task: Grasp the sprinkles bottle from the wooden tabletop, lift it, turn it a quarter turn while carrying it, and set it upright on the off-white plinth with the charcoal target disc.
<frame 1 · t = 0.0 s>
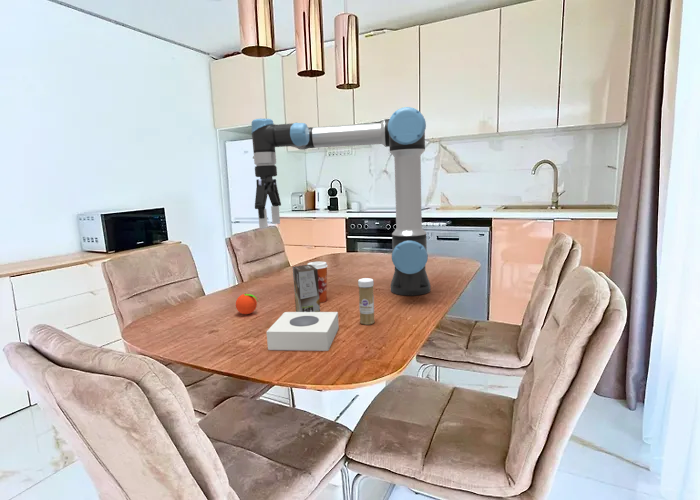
hand: (270, 225, 146), 28 cm above the table, fingers open, 13 cm apart
coffee box: (307, 316, 132), on the table
sprinkles bottle: (367, 323, 123), on the table
clementine: (248, 314, 137), on the table
plinth: (305, 338, 113), on the table
paper cup: (319, 301, 149), on the table
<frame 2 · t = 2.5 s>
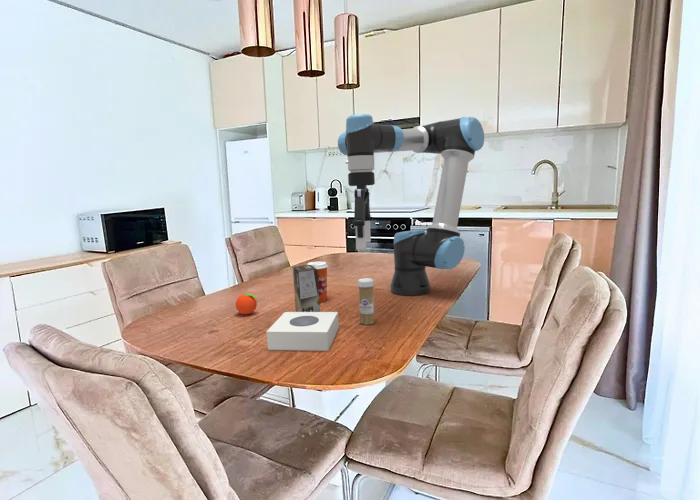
hand: (363, 245, 119), 24 cm above the table, fingers open, 13 cm apart
nothing on the table moved.
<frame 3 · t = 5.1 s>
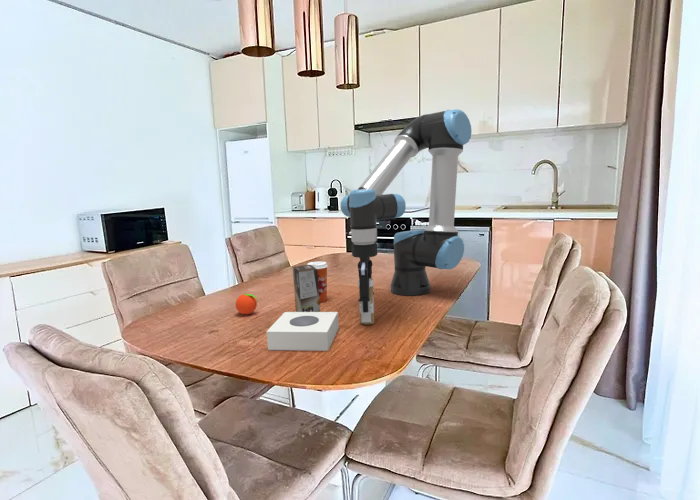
hand: (367, 318, 123), 1 cm above the table, fingers closed on sprinkles bottle, 4 cm apart
sprinkles bottle: (367, 323, 123), on the table, touching gripper
everything else where it was.
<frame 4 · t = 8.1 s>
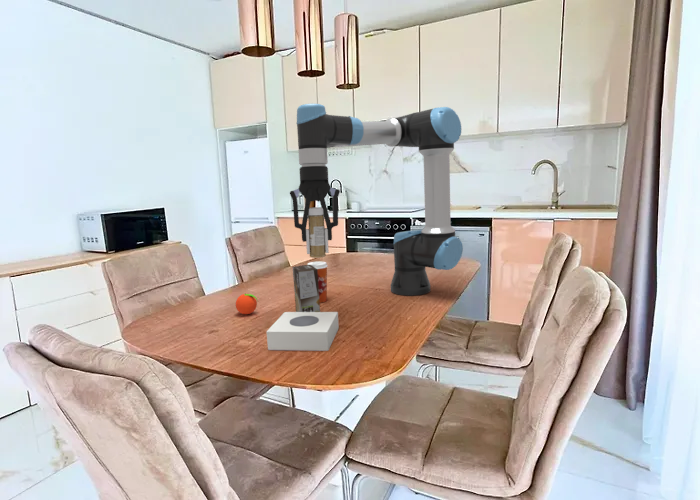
hand: (317, 252, 112), 24 cm above the table, fingers closed on sprinkles bottle, 4 cm apart
sprinkles bottle: (318, 257, 112), point 22 cm above the table, touching gripper
everything else where it was.
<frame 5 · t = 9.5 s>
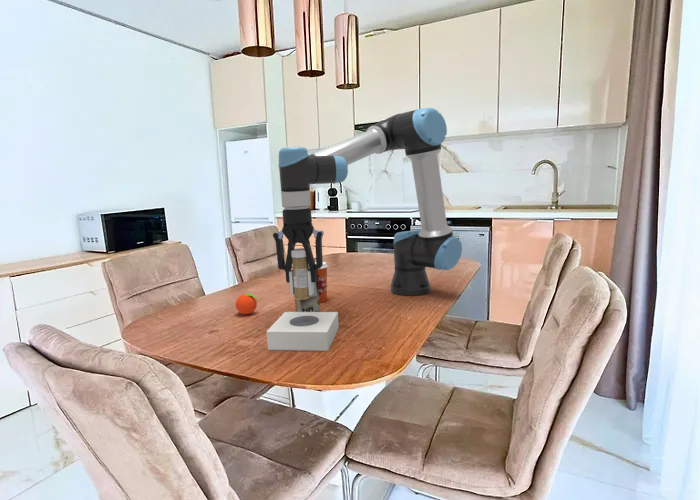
hand: (302, 293, 111), 13 cm above the table, fingers closed on sprinkles bottle, 4 cm apart
sprinkles bottle: (302, 298, 111), point 11 cm above the table, touching gripper
everything else where it was.
when the fingers open (8 cm above the table, at t = 10.9 s): sprinkles bottle drops 1 cm, resting on plinth.
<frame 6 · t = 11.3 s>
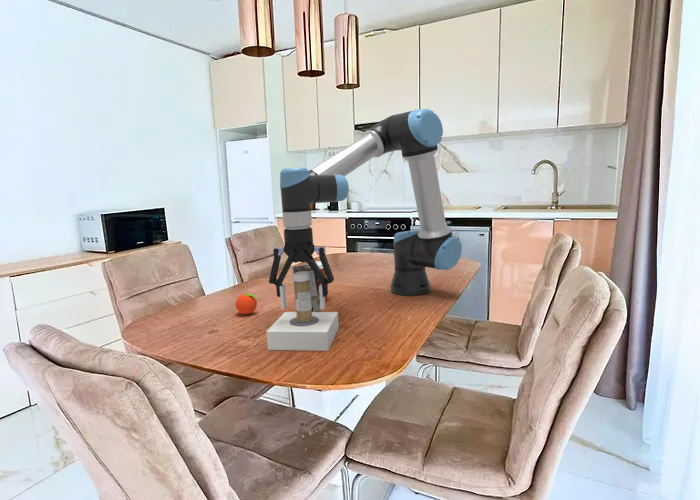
hand: (303, 308, 112), 9 cm above the table, fingers open, 10 cm apart
sprinkles bottle: (304, 321, 112), point 5 cm above the table, touching plinth
everything else where it was.
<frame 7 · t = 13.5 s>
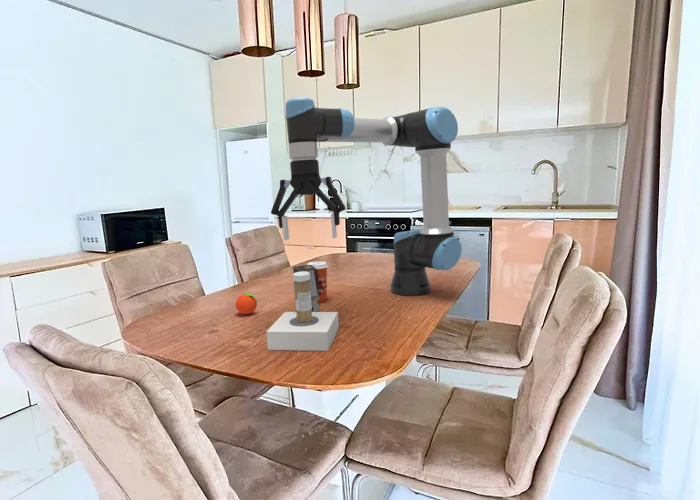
hand: (310, 238, 112), 27 cm above the table, fingers open, 13 cm apart
nothing on the table moved.
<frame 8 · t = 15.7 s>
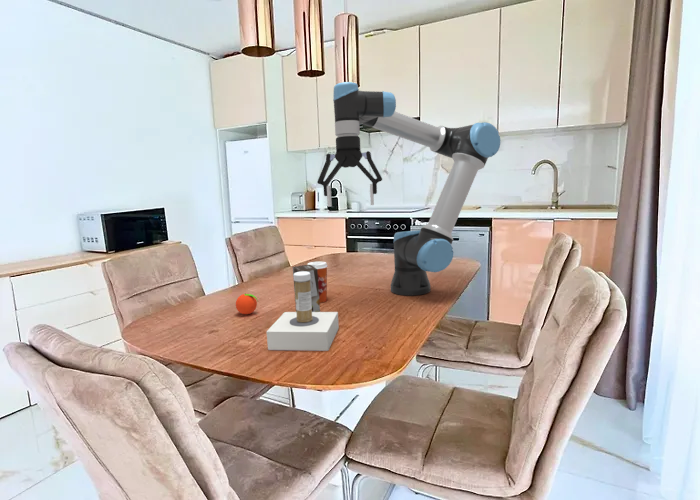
hand: (350, 205, 129), 35 cm above the table, fingers open, 13 cm apart
nothing on the table moved.
at the end: sprinkles bottle inside the target area on the plinth (0.2 cm from its centre), point 5.0 cm above the plinth's base; sprinkles bottle tilted 0°; the gripper is holding nothing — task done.
